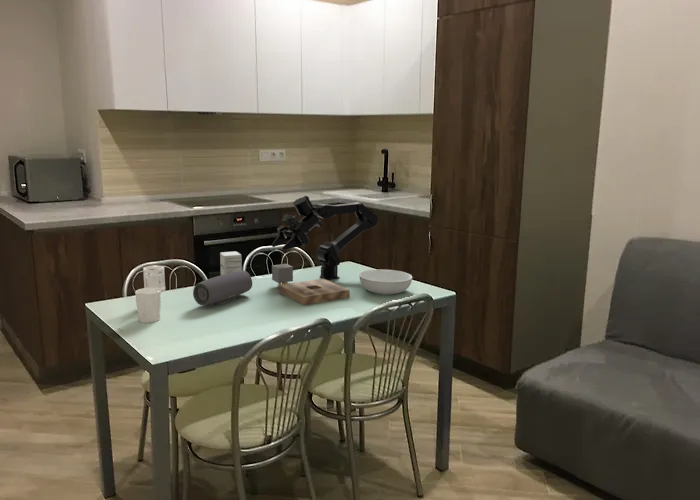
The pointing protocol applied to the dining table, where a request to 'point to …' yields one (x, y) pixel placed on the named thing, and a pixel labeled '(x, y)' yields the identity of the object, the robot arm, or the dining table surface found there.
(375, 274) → the serving bowl
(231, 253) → the supplement box
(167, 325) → the dining table surface
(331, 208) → the robot arm
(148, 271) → the white tall cylindrical part
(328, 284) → the brown wooden flat slab
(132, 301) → the dining table surface
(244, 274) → the bluetooth speaker
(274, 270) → the grey rectangular block
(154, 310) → the white cup
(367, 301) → the dining table surface
